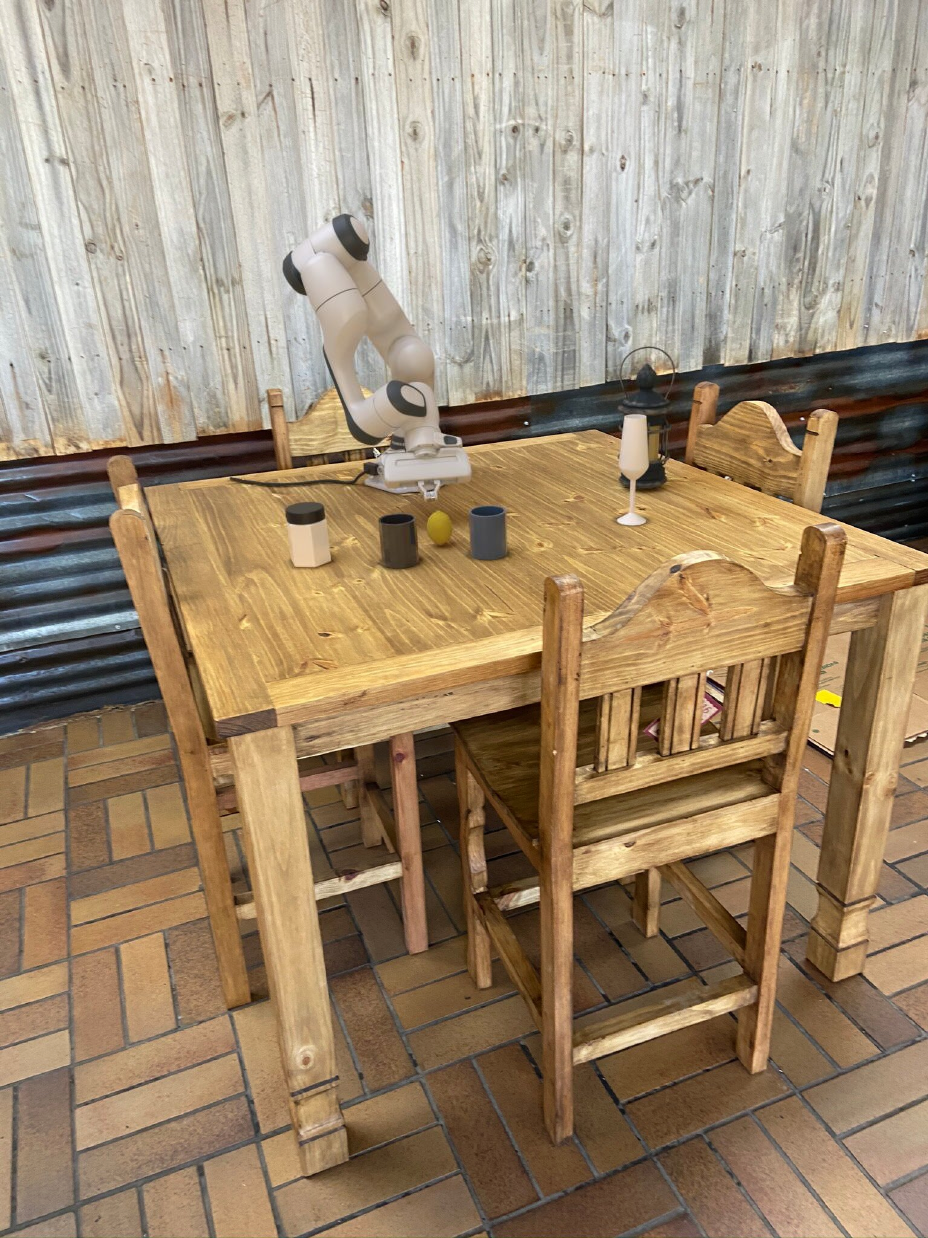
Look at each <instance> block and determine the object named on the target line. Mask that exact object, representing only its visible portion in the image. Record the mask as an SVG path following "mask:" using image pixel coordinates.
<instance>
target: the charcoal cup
mask: <svg viewBox="0 0 928 1238" xmlns="http://www.w3.org/2000/svg"><path fill="white" fill-rule="evenodd" d="M377 524H378V535H379V544H380V556H381V557H380V559H381V564H382V566H383V567H384V568H385V567H386V568H389V569H406V568H411V567H413V566H416V565H418V563H419V562H420V552H419V539H418V537H419V536H418V525H417V516H415V515H414V514H411V513H406V512H402V513H401V512H397V513H389V514H385V515H383V516H380V517H379V518H378V519H377Z"/></svg>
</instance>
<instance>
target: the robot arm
mask: <svg viewBox="0 0 928 1238" xmlns="http://www.w3.org/2000/svg"><path fill="white" fill-rule="evenodd" d="M370 245H371V242H370V237H369V235H368V232H367V230H366V229H365V227H364V225H363V224H362V223H361V221H359V220H358V219H357V218H356V217H355V216H353V215H352V214H349V213H342V214H339V215H337V216H334V217H332V219H331V221H329V222H327V223H325V224H323V225H322V226H320V227H319V228H317V229H316V230H314V231H312V232H311V233H310V235H309V236H308V237H307V238H306V239H304V240H303V241H302V242H301V243H300V244H298V246H296V248H294V249H293V250H290V251H289V253H288V254H287V255H286V256H285V257H284V259H283V260H282V268H281V269H282V273H283V277H284V278H285V279H286V282H287V283H288V285H289V286H290V288H292V290H294V291H295V292H296V293H297V294H299V295H302V296H306V297H307V298H308V301H309V303H310V305H311V307H312V309H313V311H314V313H315V314H316V317H317V319H318V321H319V324H320V327H321V332H322V336H323V344H322V354H323V359H324V361H325V364H326V367H327V370H328V372H329V375H330V377H331V381H332V382H333V386H334V387H335V390H336V393H337V395H338V398H339V401H340V403H341V406H342V409H343V412H344V416H345V421H346V426H347V429H348V431H349V433H350V435H351V436H352V438H353V439H355V440H356V441H357V442H359V443H360V444H363V445H366V446H370V447H371V446H372V447H373V446H377V445H379V444H380V443H381V442H383V441H384V440H385V439H386V440H385V441H386V442H389V441H390V442H389V446H388V448H386V450H384V452H382V454H380V455H379V456H378V457H377V458H376V459H375V460H374V461H373V462H372V461H368V462H363V463H362V465H363V471H362V472H360V473H359V474H358V475H356V476H355V478H354V479H353V480H339V479H332V478H331V479H330V478H329V479H328V478H327V479H316V480H306V481H296V482H295V481H294V482H265V481H257V480H250V479H244V480H242V479H243V478H238V477H234V476H230V477H229V480H230V481H235V482H239V483H246V484H251V485H259V486H266V487H267V486H268V487H290V486H293V487H294V486H305V485H306V486H307V485H313V484H323V483H334V484H342V485H353V484H356V483H357V482H358V481H359V479H360V478H361V477H363V476H364V475H370V476H369V477H367V478H366V479H365V480H364V485H365V486H369V487H372V488H375V489H379V490H382V491H386V492H389V493H392V494H404V493H418V492H419V493H420V494H421V495H422V497H423V501H424V503H428V502H429V503H430V502H438V493H439V492H440V489H441V487H443V486H444V485H455V484H468V483H469V482H470V481H471V479H472V476H473V470H472V465H471V461H470V458H469V455H468V453H467V451H466V450H465V448H463V439H462V438H461V437H459V436H455V435H450V434H446V433H443V432H442V431H441V428H440V420H441V419H440V411H439V407H438V402H437V399H436V396H435V354H434V352H433V349H432V347H430V345H429V344H428V343H426V342H425V341H424V340H423V339H422V338H421V337H420V335H419V334H418V332H417V331H416V330H415V328H414V326H413V325H412V323H411V321H410V320H409V318H408V317H407V315H406V314H405V312H404V309H403V308H402V306H401V305H400V303H399V302H398V300H397V298H396V297H395V296H394V295H393V293H392V291H391V290H390V289H389V287H388V286H387V283H385V281H384V279H383V278H382V276H381V275H380V274H379V272H378V271H377V270H376V269H375V267H374V266H373V264H372V263H371V262H370V261H369V259H368V254H369V252H370ZM364 335H366V336H367V338H368V339H369V341H370V343H371V344H372V345H373V346H374V348H375V349H376V351H377V352H378V354H379V355H380V357H381V358H382V360H383V361H384V362H385V364H386V365H387V367H388V368H389V370H390V373H391V380H390V381H389V382H387V383H386V384H384V385H383V386H381V387H380V388H379V389H377V390H376V391H374V392H373V393H372V394H371V395H369V396H368V397H366V398H365V395H364V393H363V390H362V387H361V385H360V382H359V380H358V379H359V378H358V377H357V375H356V372H355V368H354V358H355V354H356V352H357V349H358V346H359V344H360V342H361V340H362V339H363V337H364ZM233 477H234V478H233ZM431 490H432V491H431Z"/></svg>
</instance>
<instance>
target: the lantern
mask: <svg viewBox="0 0 928 1238" xmlns="http://www.w3.org/2000/svg"><path fill="white" fill-rule="evenodd" d="M644 349H654V350H657V351H660V352H661V353H663V354H664V355H665V356H666V357H667V358H668V360H669V361H670V363H671V366H672V380H671V383H670V385H669V387H668V389H667V392H666V394H665V396H664V395H663V394H660V393H658V392H656V391H655V390H654V388H655V387H656V385H657V383H658V374H657V372H656V371H655V369H654V368H653V367H652V365H651V364H649V363H645V364H644V365H643V366H642V367H641V369H640V370H639V371H638V372H637V374H636V377H635V383H636V386H637V388H638V389H639V391H636V392H635V393H633V394H631V395H629V397H628V395H627V392H626V388H625V386H624V383H623V378H622V369H623V365H624V364H625V362H626V360H627V359H628V358H629V357H630V356H631V355H632V354H633V353H635V352H637V351H640V350H644ZM675 377H676V367H675V363H674V360H673V359H672V357H671V355H670V354H669V353H668V352H666V351H665V350H663V349H661V348H659V347H656V346H649V345H647V346H642V347H638V348H635V349H633V350H632V351H630V352H629V353H628V354H627V355H626V356H625V357H624V358H623V360H622V362H621V363H620V367H619V381H620V386H621V388H622V391H623V394H624V397H625V399H623V400H622V401H621V402H620V405H618V406H617V411H619V412H620V413H621V414H624V417H625V416H626V415H633V414H639V415H645V416H646V422H647V441H648V460H649V467H648V469H647V470H646V472H645V473H644V474H643V475H642V476H641V477H640V478H638V479H637V480H636V484H635V490H640V491H645V490H654V489H658V488H660V487H662V486H663V485H664V484H666V483H667V481H669V480H668V477H667V476H666V474H667V473H666V467H665V465H666V464H667V461H669V460H670V459H671V455H670V454H669V452H668V445H669V444H668V442H669V431H671V429H672V427H673V426H672V425H671V424H670V423H669V422H668V420H667V414H669V413H670V412H672V411H673V410H674V405H673V404H671V403H672V401H670V400H669V399H668V396H669V393H670V391H671V389H672V387H673V385H674V381H675ZM624 417H623V418H622V421H621V423H620V424H619V425H618V426H617V428H618V429H619V431H620V432H621V434H622V433H623V425H624ZM660 426H661V429H660ZM660 434H661V440H660ZM664 437H665V439H664ZM664 440H665V441H664ZM660 441H661V443H660ZM664 443H665V444H664ZM659 444H660V445H659ZM659 447H660V449H659ZM659 454H660V456H659ZM663 456H664V458H663ZM619 457H620V453H618V455H617V459H618V460H619ZM618 481H619V483H620V484H622V485H623V486H625V487H626V488H627V489H630V479H628V478H627V477H626V476H625V475H624V474H623V473H622V472H621V471H620V476H619V477H618Z"/></svg>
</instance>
